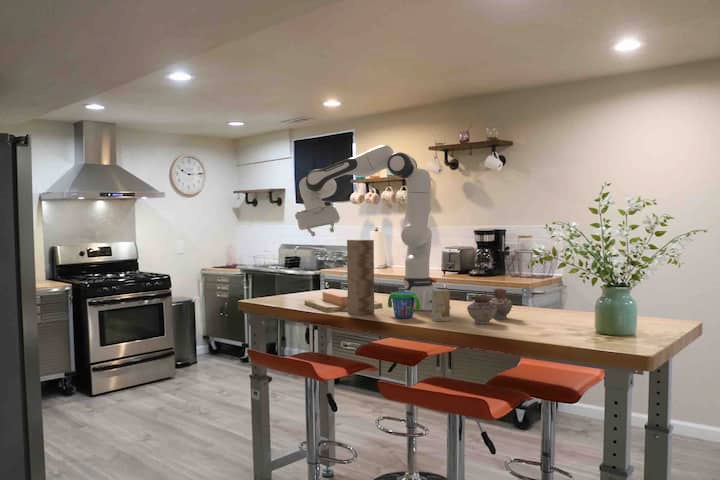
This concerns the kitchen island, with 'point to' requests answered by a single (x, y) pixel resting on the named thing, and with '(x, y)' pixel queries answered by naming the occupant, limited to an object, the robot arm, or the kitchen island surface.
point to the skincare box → (440, 305)
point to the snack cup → (403, 303)
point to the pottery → (490, 307)
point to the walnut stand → (360, 276)
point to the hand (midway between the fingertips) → (323, 233)
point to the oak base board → (331, 305)
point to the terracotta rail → (335, 298)
